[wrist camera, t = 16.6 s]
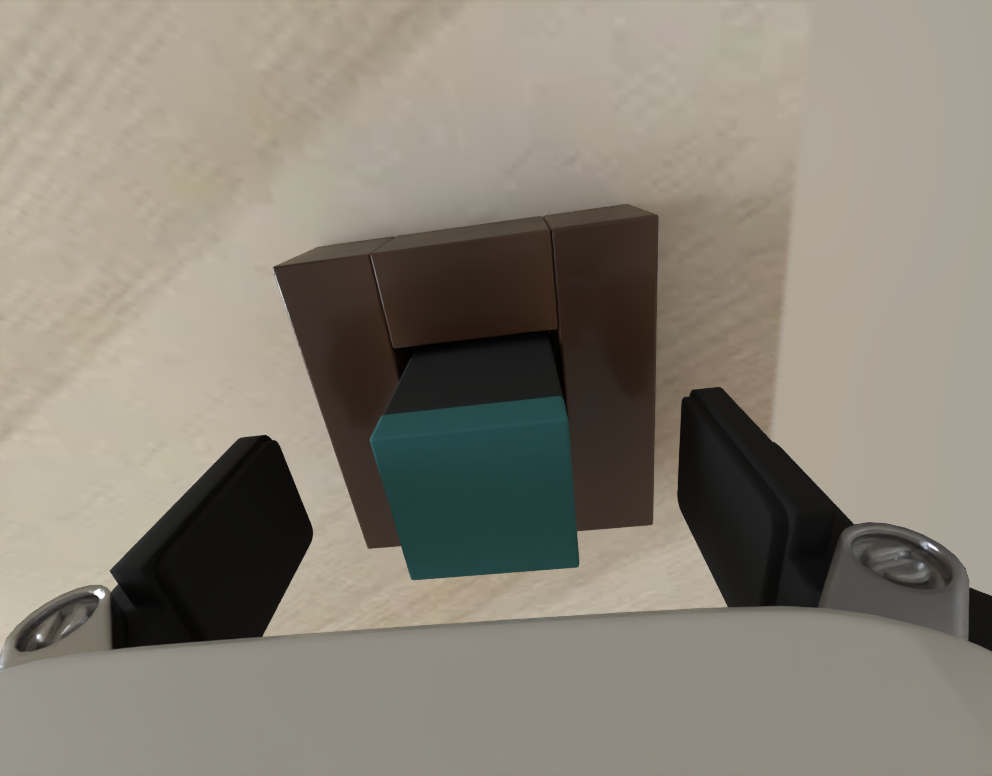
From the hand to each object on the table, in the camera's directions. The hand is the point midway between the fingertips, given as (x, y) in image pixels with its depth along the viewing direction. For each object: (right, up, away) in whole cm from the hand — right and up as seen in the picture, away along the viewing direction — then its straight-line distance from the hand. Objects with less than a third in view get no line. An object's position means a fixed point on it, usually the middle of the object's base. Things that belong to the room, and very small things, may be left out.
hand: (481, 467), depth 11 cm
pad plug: (0, +2, +5) cm, 6 cm away
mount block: (0, +2, +5) cm, 6 cm away
